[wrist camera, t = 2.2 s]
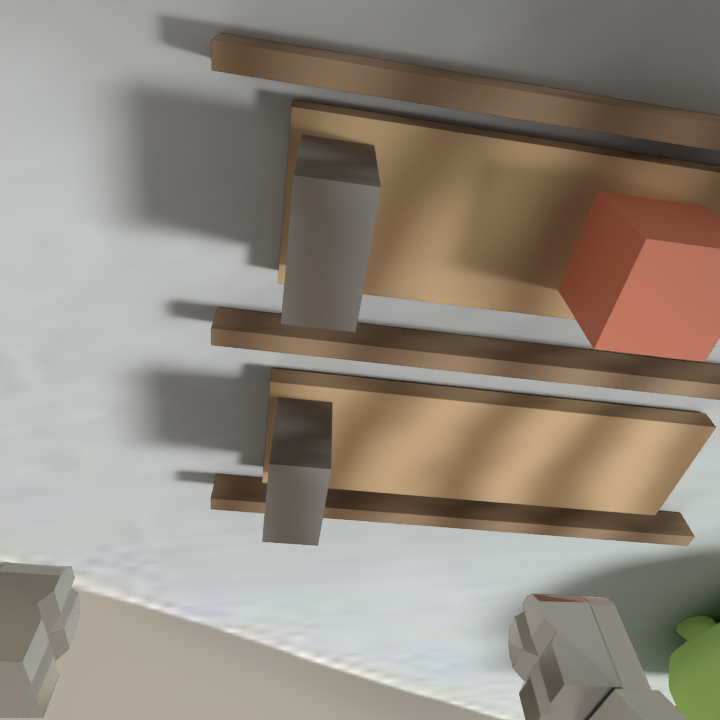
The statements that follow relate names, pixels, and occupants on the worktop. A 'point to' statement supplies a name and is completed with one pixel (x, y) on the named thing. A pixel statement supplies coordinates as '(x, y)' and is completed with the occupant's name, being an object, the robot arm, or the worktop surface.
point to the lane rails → (461, 349)
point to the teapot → (697, 669)
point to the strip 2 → (462, 448)
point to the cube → (647, 277)
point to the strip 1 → (446, 212)
